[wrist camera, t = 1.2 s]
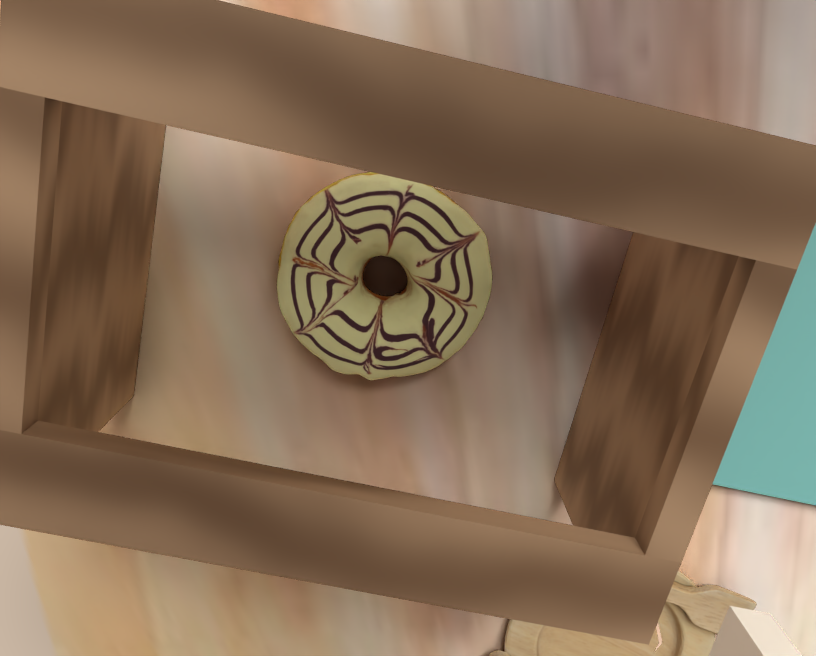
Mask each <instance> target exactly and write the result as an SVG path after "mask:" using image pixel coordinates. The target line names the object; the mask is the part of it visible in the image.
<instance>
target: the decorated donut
mask: <svg viewBox="0 0 816 656" xmlns="http://www.w3.org/2000/svg"><path fill="white" fill-rule="evenodd" d="M380 255H383V256H385V257H392V258H394V259H395V260H397V261H398V262H399V263H400V264H401V266H402V267H403V268H404V270H405V272H406V274H407V279H408V281H407V286H406V288H405V289H404V290H402V292H401V293H396V294H394V296H389V297H387V296H386V297H385V296H380V295H377V294H375V293H373V292H372V291H371V290H369V289H367V287H366V286H365V285H364V282H363V275H362V274H363V272H364V268H365V266H366V265H367V262H369V261H370V259H371V258H373V257H374V256H375V257H376V256H380ZM278 263H279V272H278V277H277V294H278V301H279V306H280V310H281V313H282V315H283V317H284V319H285V321H286V322H287V324H288V325H289V327H290V329H291V331H292V333H293V334H294V335H295V336H296V338H297V339H298V340H299V341H300V343H302V344H303V345H304V346H305V347H306V348H307V349H308V350H309V351H310V352H311V353H312V354H314V355H316V356H317V357H319V358H320V359H321V360H323V361H324V362H325V363H326V364H327V365H328V367H329V368H330V369H332V370H333V371H336V372H338V373H342V374H359V375H361V376H363V377H364V378H366V379H368V380H377V379H383V378H388V377H392V376H396V377H402V376H410V375H415V374H419V373H424V372H427V371H429V370H431V369H433V368H435V367H437V366H439V365H440V364H442V363H443V362H444V361H446V360H448V359H449V358H450V357H451V356H452V355H454V354H455V353H456V352H457V351H459V350H460V349H461V348H462V347H463V346H464V345H465V343H466V342H467V340H468V339H469V338H470V337H471V336H472V334H473V332H474V331H475V330H476V328H477V326H478V325H479V322H480V321H481V319H482V318H483V315H484V312H485V309H486V306H487V303H488V300H489V298H490V293H491V286H492V268H491V265H490V255H489V250H488V242H487V238H486V236H485V234H484V232H483V231H482V230H481V228H480V227H479V226H478V225H477V224H476V223H475V222H474V220H473V219H472V218H471V217H470V215H469V214H468V213H467V212H466V211H465V210H463V209H462V208H461V207H460V206H459V205H457V204H456V203H455V202H454V201H453V200H452V199H450V198H449V197H448V196H446V195H445V194H443V193H442V192H441V191H439V190H437V189H435V188H433V187H432V186H430V185H426V184H421V183H417V182H413V181H408V180H404V179H400V178H395V177H391V176H387V175H382V174H378V173H373V172H368V173H361V174H355V175H352V176H348V177H346V178H344V179H340V180H338V181H337V182H334V183H333V184H331V185H329V186H327V187H325V188H324V189H322V190H321V191H319V192H318V193H316V194H315V195H314V196H312V197H311V198H310V199H309V200H308V201H307V202H306V203H305V204H304V205H303V206H301V208H300V209H299V210H298V211H297V212H296V213H295V215H294V218H293V220H292V221H291V223H290V224H289V227H288V229H287V232H286V234H285V237H284V241H283V245H282V250H281V253H280V256H279V260H278Z"/></svg>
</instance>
